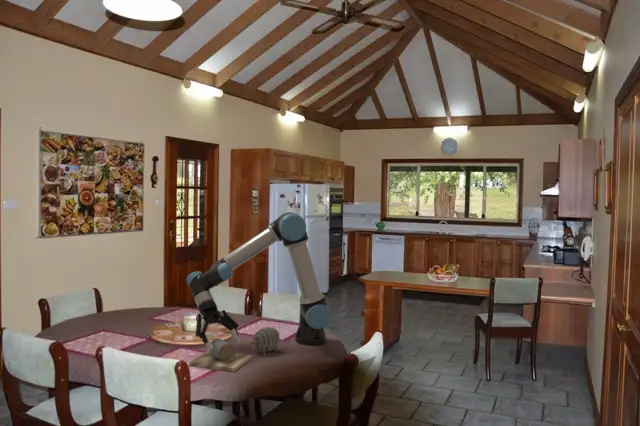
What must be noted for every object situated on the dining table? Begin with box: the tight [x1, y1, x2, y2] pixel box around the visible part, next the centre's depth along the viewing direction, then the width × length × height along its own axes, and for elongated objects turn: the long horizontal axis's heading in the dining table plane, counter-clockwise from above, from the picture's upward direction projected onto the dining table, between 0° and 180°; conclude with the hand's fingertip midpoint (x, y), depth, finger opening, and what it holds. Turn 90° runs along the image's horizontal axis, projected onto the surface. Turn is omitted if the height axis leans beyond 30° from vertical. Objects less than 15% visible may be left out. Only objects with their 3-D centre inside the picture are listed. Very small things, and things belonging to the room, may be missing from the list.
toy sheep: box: [250, 326, 281, 356], centre depth 242 cm, size 11×17×11 cm, turn 147°
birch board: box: [188, 350, 253, 373], centre depth 226 cm, size 20×18×2 cm
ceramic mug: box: [209, 338, 236, 360], centre depth 227 cm, size 11×8×8 cm
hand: (224, 346), depth 224 cm, fingers open, 13 cm apart
